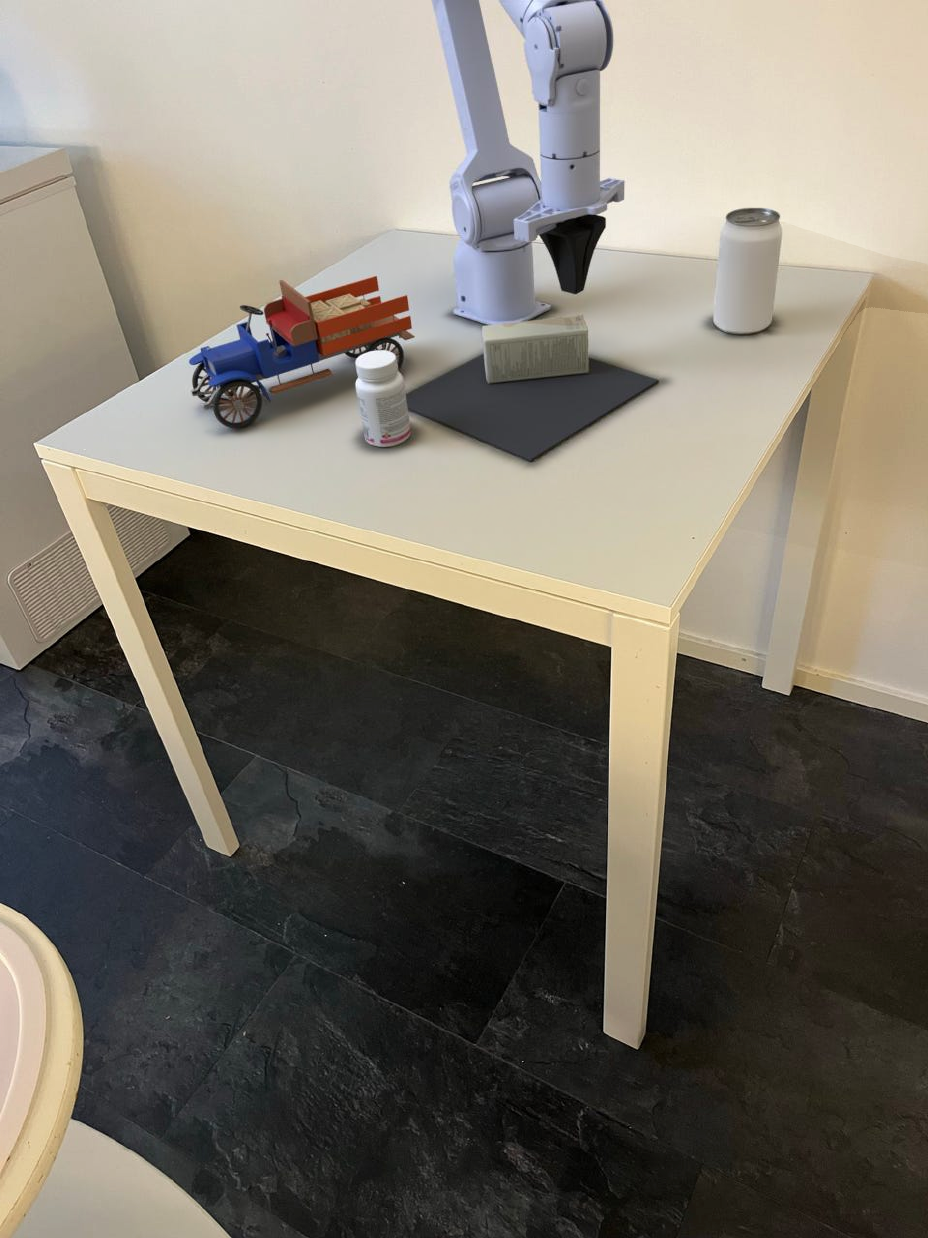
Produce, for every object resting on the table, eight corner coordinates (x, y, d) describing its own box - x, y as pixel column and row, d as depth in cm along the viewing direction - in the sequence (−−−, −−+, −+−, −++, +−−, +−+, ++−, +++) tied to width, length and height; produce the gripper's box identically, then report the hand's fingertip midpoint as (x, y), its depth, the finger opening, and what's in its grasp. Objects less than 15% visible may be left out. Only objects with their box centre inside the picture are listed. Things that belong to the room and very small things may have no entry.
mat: (392, 403, 103) (392, 400, 103) (519, 336, 113) (519, 334, 113) (530, 462, 91) (530, 459, 91) (658, 382, 101) (658, 379, 101)
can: (772, 335, 107) (786, 225, 99) (712, 335, 108) (721, 226, 101) (770, 311, 112) (783, 205, 104) (712, 312, 113) (721, 206, 105)
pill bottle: (418, 426, 98) (407, 349, 93) (401, 450, 95) (389, 371, 90) (375, 422, 100) (363, 346, 94) (357, 446, 97) (343, 368, 91)
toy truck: (192, 409, 106) (163, 312, 99) (392, 343, 115) (378, 250, 107) (217, 439, 100) (188, 338, 93) (425, 368, 109) (413, 271, 102)
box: (583, 313, 103) (481, 322, 103) (589, 329, 100) (483, 338, 100) (583, 359, 107) (484, 367, 107) (588, 376, 103) (486, 385, 103)
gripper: (550, 177, 86) (555, 323, 95) (650, 136, 93) (645, 275, 102) (494, 166, 90) (503, 307, 99) (593, 128, 97) (594, 262, 106)
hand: (572, 290), depth 101 cm, fingers closed
